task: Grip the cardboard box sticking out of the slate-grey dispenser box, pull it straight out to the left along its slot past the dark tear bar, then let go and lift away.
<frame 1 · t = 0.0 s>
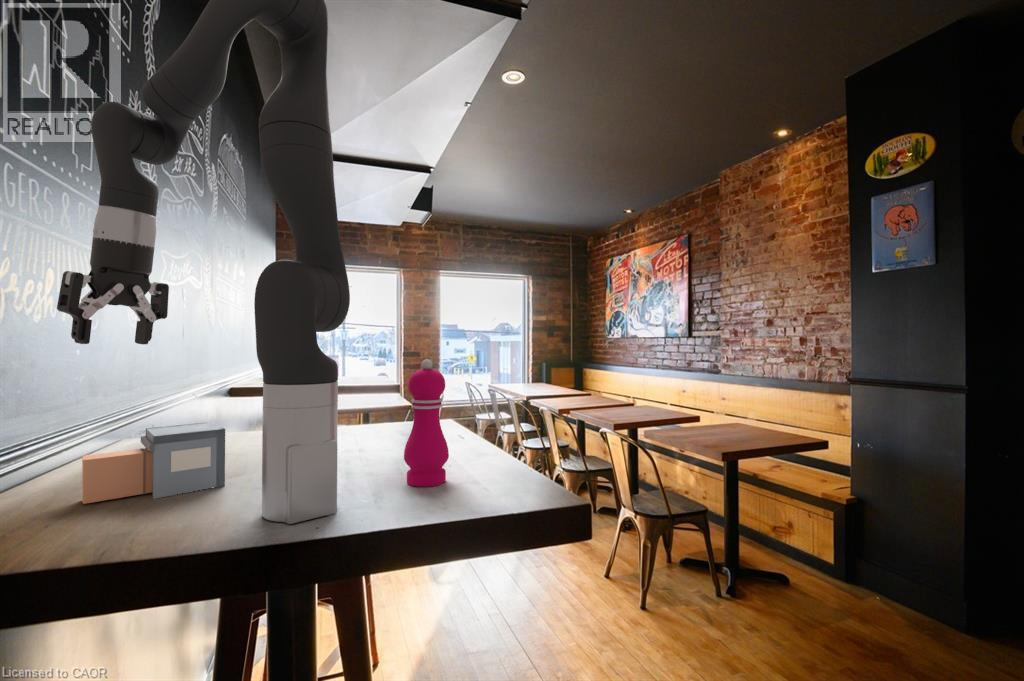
hand: (113, 343, 75), 22 cm above the table, tool pointing down, fingers open, 8 cm apart
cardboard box: (149, 469, 72), point 3 cm above the table, slide at 0.0 cm
pepper mill: (426, 482, 78), on the table
dispenser: (184, 485, 75), on the table
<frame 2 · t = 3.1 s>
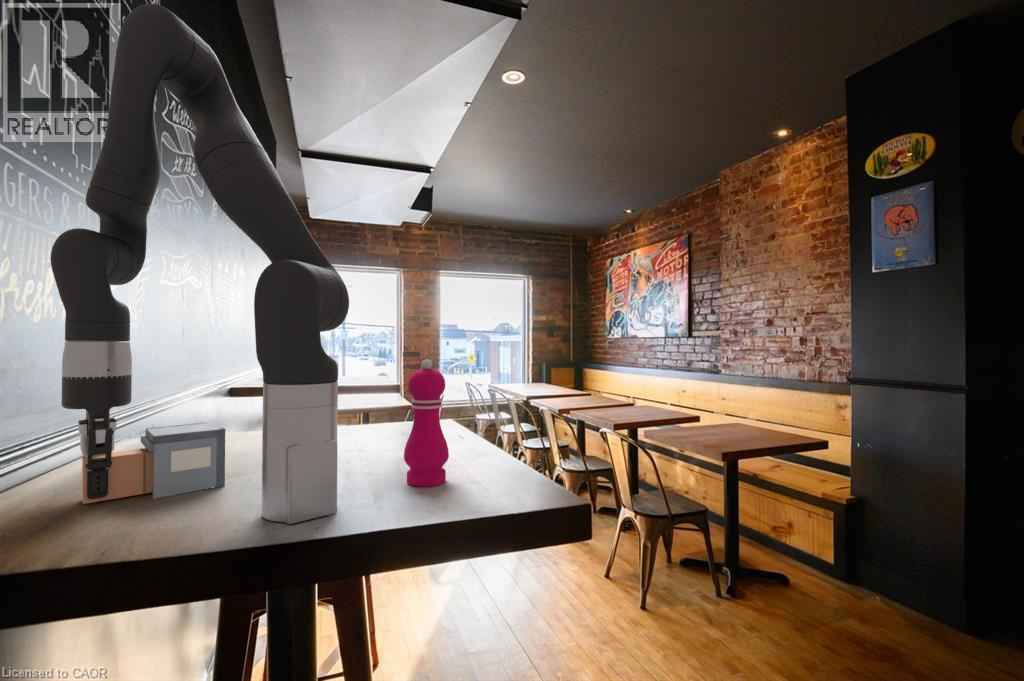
hand: (96, 493, 68), 1 cm above the table, tool pointing down, fingers closed on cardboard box, 3 cm apart
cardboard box: (149, 469, 72), point 3 cm above the table, slide at 0.0 cm, touching gripper
everything else where it was.
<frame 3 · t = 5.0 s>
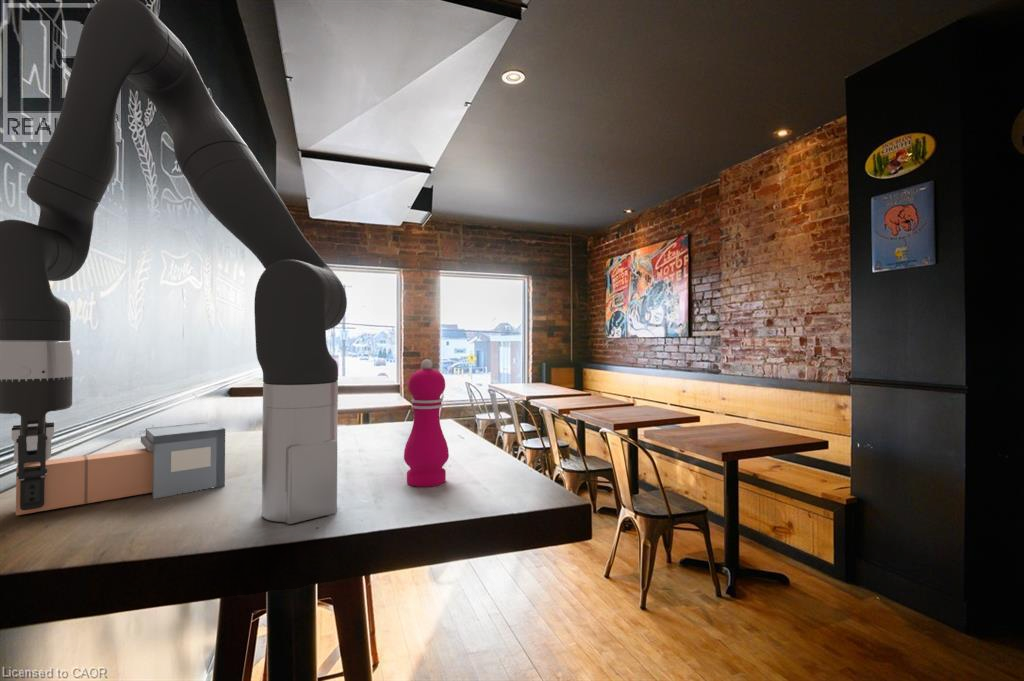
hand: (32, 503, 63), 1 cm above the table, tool pointing down, fingers closed on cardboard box, 3 cm apart
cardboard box: (93, 477, 68), point 3 cm above the table, slide at 6.4 cm, touching gripper
everything else where it was.
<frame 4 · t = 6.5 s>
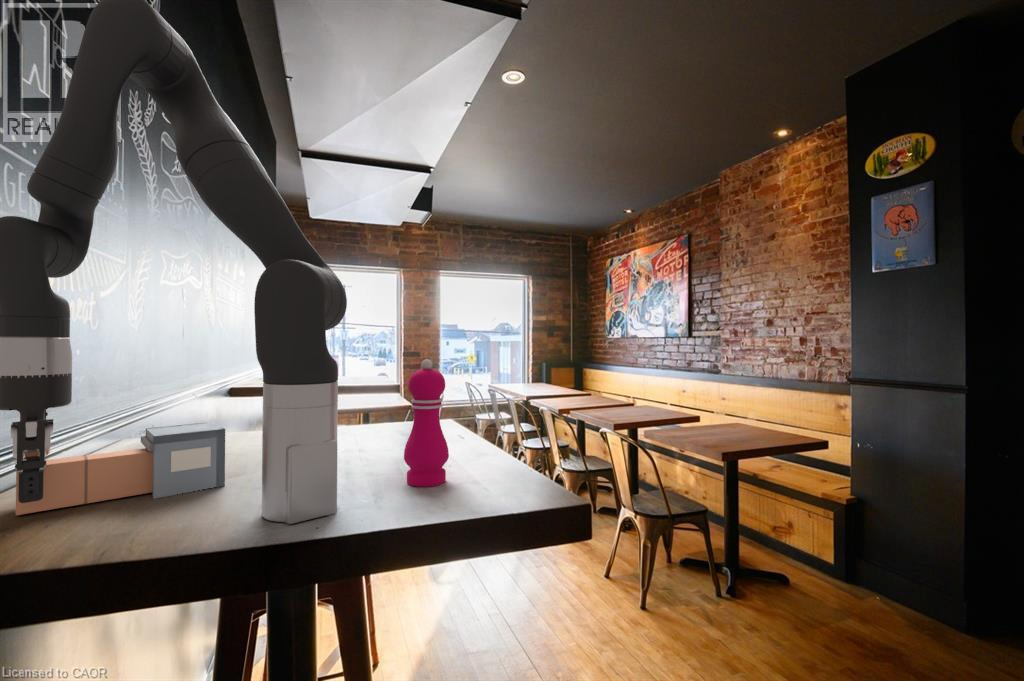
hand: (32, 493, 63), 2 cm above the table, tool pointing down, fingers open, 8 cm apart
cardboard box: (92, 477, 68), point 3 cm above the table, slide at 6.4 cm
everything else where it was.
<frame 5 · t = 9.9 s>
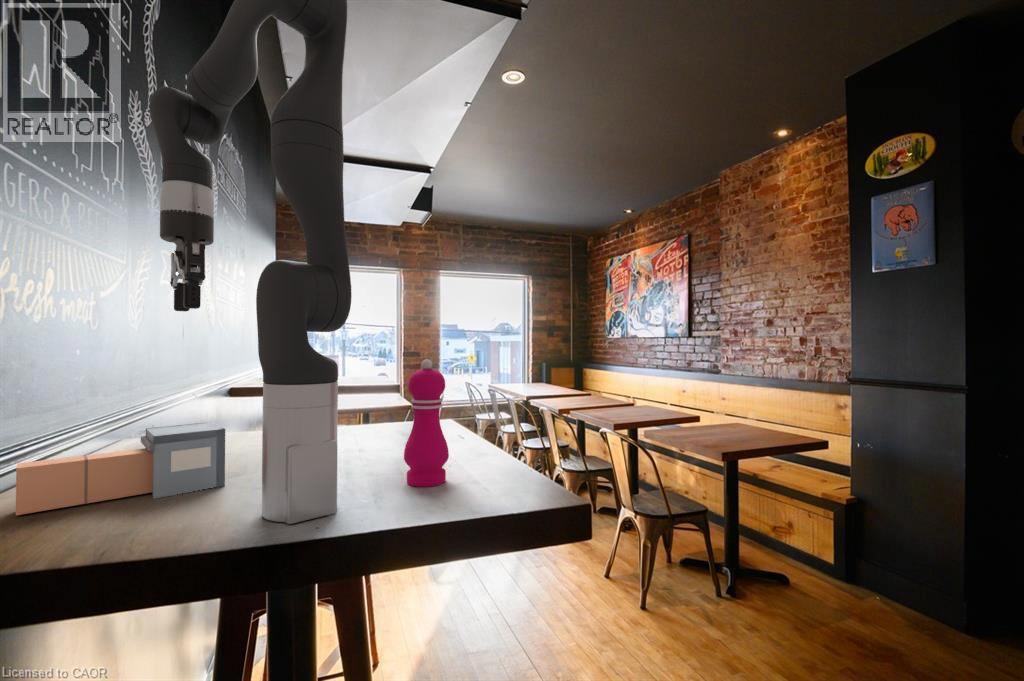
hand: (186, 309, 80), 28 cm above the table, tool pointing down, fingers open, 8 cm apart
nothing on the table moved.
at the end: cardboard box slide at 6.4 cm; the gripper is holding nothing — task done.
